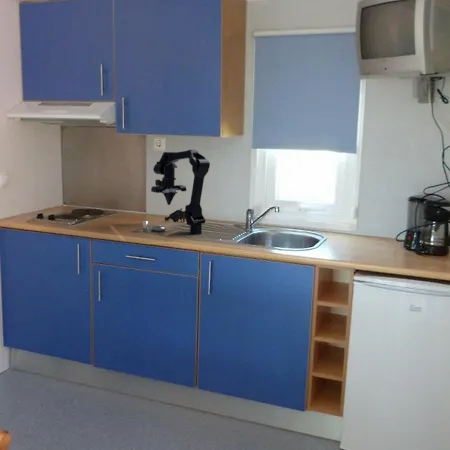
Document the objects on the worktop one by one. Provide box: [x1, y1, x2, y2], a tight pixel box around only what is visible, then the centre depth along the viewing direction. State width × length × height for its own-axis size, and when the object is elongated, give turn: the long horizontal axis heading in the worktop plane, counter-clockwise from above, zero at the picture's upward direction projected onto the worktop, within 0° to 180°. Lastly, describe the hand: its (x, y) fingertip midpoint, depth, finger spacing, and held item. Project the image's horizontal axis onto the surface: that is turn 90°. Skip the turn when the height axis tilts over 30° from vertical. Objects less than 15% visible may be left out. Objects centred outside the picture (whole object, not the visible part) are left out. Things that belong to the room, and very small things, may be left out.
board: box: [129, 225, 182, 237], centre depth 279 cm, size 22×16×1 cm
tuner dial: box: [142, 220, 167, 232], centre depth 276 cm, size 12×7×5 cm, turn 109°
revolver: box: [164, 208, 195, 223], centre depth 307 cm, size 3×18×12 cm
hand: (168, 204), depth 289 cm, fingers closed
